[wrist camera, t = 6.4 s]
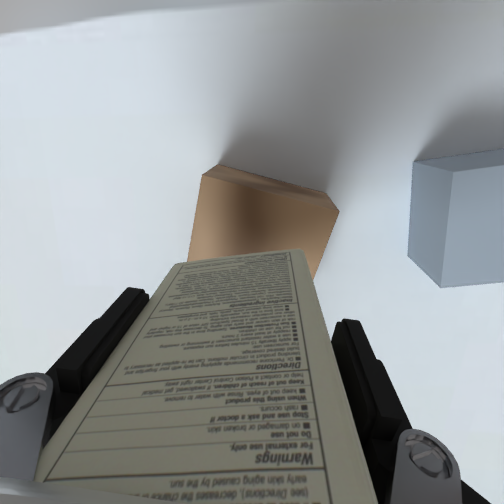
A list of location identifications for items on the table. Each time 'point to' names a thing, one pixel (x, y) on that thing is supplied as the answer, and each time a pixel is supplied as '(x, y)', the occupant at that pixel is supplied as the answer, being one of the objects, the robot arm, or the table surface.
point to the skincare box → (219, 396)
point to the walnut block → (259, 217)
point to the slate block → (458, 218)
